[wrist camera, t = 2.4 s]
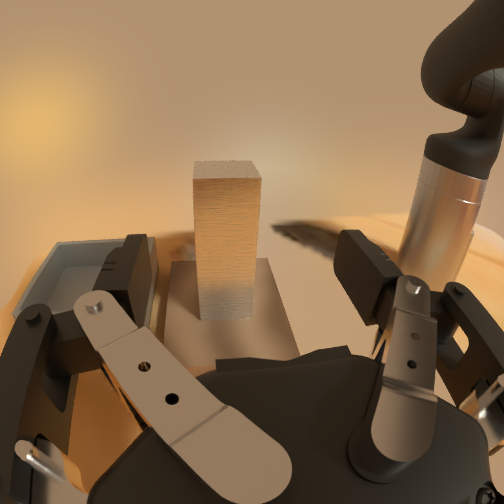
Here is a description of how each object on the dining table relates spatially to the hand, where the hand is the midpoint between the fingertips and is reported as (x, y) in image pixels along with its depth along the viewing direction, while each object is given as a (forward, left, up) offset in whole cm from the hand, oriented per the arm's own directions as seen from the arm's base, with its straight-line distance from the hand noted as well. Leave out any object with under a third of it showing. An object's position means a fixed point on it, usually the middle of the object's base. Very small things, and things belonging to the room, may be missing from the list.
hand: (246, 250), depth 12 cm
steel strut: (0, -13, -14) cm, 19 cm away
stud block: (0, -13, -16) cm, 21 cm away
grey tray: (+15, -15, -16) cm, 27 cm away
